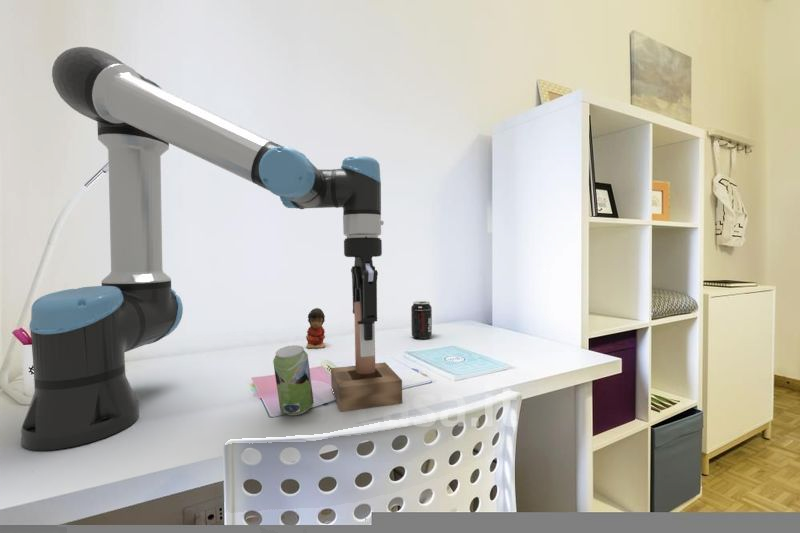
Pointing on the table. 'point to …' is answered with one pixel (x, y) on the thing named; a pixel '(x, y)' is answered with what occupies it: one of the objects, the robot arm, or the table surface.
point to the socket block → (365, 387)
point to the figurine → (316, 329)
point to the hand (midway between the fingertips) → (364, 352)
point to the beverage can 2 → (421, 320)
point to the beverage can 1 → (293, 380)
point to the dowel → (362, 363)
